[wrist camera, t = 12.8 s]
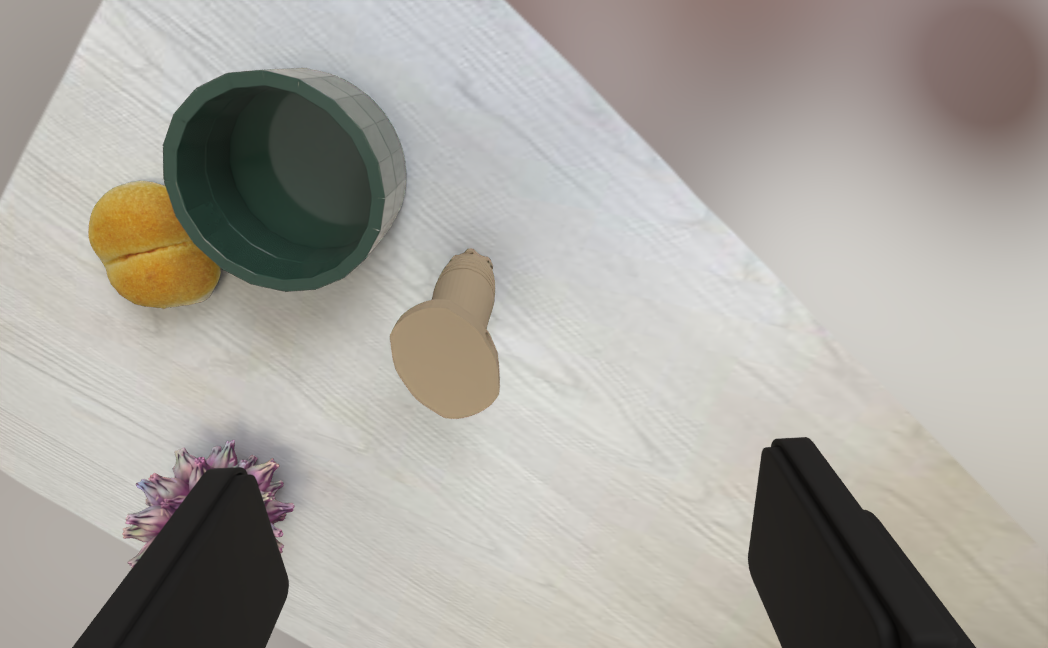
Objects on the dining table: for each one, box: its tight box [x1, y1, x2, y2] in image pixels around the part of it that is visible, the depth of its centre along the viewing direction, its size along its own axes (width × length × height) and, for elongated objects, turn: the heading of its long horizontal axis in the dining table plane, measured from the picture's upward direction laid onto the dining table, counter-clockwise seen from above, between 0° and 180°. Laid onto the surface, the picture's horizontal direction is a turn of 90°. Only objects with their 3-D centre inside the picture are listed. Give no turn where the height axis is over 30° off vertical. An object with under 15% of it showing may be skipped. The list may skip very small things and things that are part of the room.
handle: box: [390, 249, 500, 419], centre depth 36 cm, size 5×6×15 cm
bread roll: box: [89, 181, 221, 309], centre depth 41 cm, size 8×9×4 cm
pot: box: [163, 68, 406, 292], centre depth 37 cm, size 13×13×7 cm
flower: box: [123, 440, 294, 568], centre depth 46 cm, size 12×12×12 cm
